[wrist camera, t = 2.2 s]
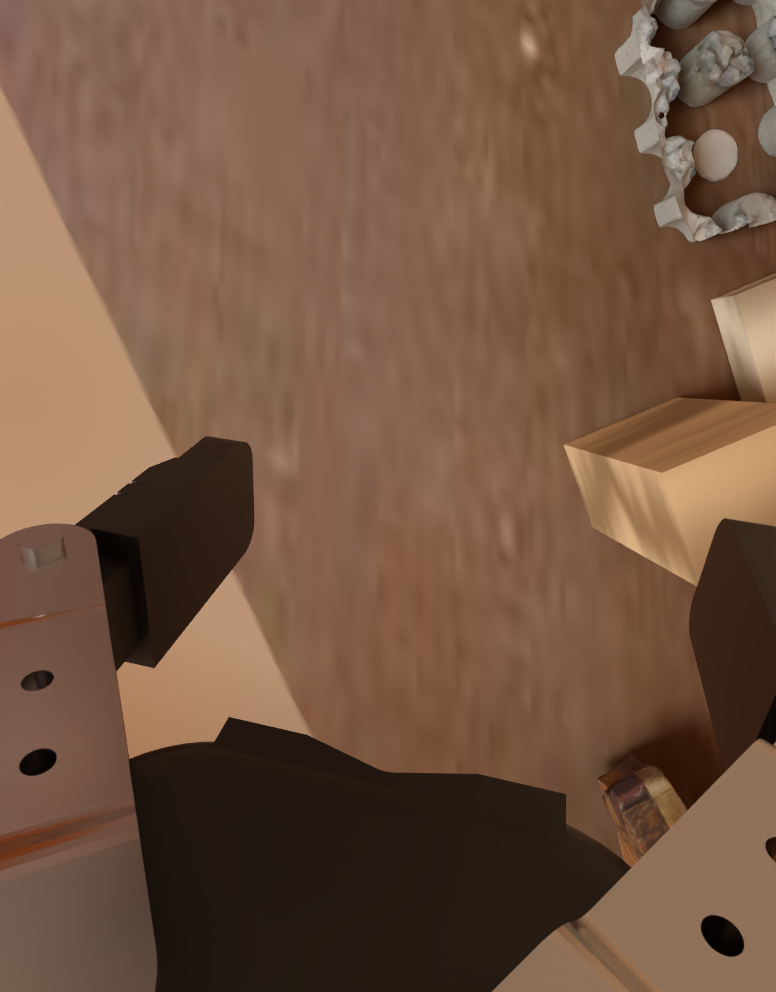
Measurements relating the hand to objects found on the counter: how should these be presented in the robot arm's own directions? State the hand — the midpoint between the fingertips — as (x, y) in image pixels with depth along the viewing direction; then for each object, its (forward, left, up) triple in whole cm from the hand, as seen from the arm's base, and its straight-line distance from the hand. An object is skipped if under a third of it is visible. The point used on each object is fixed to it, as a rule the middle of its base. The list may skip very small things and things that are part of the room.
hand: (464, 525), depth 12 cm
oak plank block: (+6, +11, -21) cm, 25 cm away
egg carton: (-7, +19, -22) cm, 30 cm away
